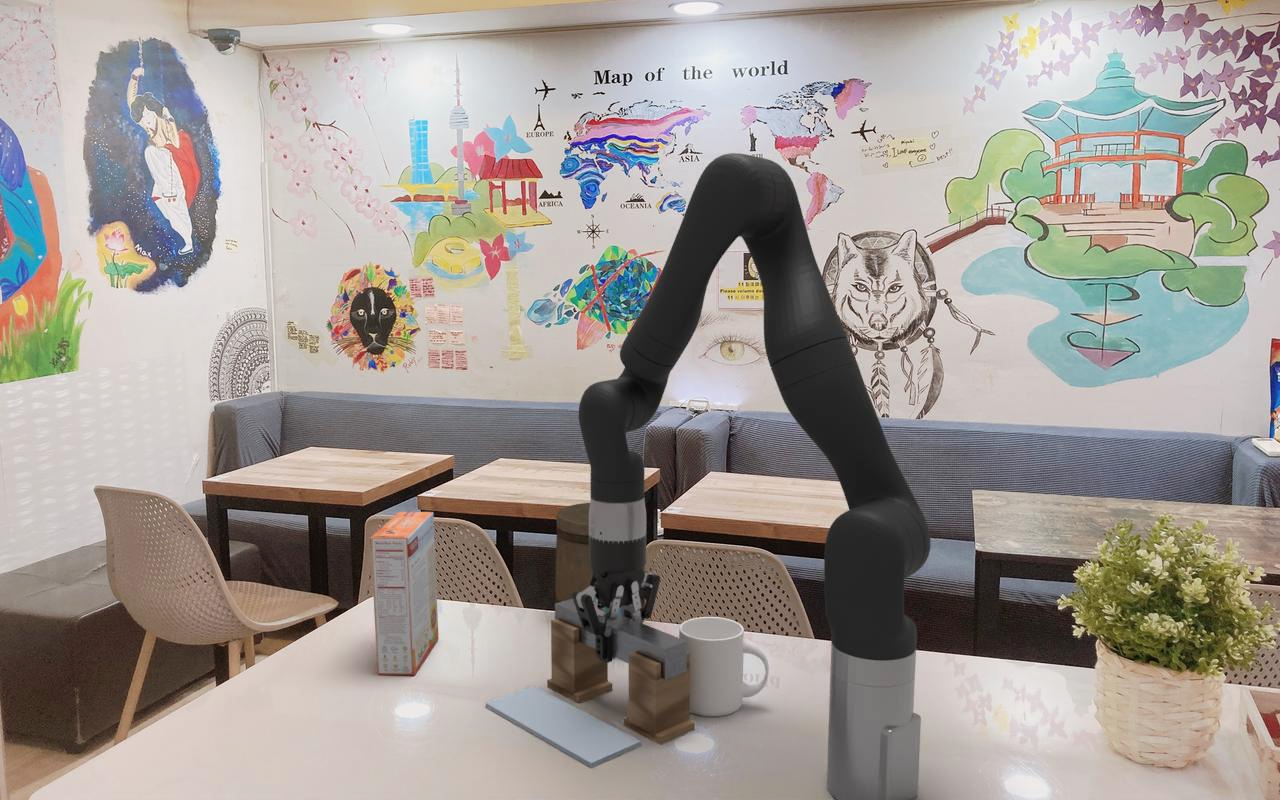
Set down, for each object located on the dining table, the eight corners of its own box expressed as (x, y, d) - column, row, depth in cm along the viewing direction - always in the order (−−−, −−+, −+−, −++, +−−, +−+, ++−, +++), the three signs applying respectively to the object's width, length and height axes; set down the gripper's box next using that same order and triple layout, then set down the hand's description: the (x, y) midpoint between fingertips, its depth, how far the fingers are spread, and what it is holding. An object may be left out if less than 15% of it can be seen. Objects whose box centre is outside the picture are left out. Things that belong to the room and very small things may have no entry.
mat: (640, 745, 125) (640, 741, 125) (591, 767, 120) (591, 763, 120) (533, 689, 141) (533, 685, 141) (485, 706, 136) (485, 702, 136)
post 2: (694, 729, 130) (695, 654, 128) (661, 744, 126) (661, 667, 124) (657, 711, 135) (657, 639, 133) (623, 725, 131) (623, 651, 129)
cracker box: (402, 639, 160) (397, 510, 157) (439, 640, 159) (436, 510, 156) (373, 676, 146) (368, 534, 143) (414, 677, 146) (410, 535, 143)
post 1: (612, 690, 141) (612, 621, 140) (578, 703, 137) (578, 632, 136) (580, 674, 146) (580, 608, 145) (547, 686, 142) (546, 618, 141)
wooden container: (654, 608, 174) (655, 482, 171) (630, 639, 160) (631, 503, 157) (573, 600, 178) (572, 477, 175) (542, 629, 164) (541, 497, 161)
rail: (686, 671, 128) (686, 641, 128) (664, 679, 126) (665, 648, 125) (576, 624, 144) (576, 597, 144) (555, 631, 142) (554, 603, 141)
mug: (765, 723, 131) (767, 644, 130) (673, 715, 134) (674, 637, 132) (769, 695, 140) (771, 620, 138) (683, 688, 142) (684, 614, 141)
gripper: (594, 547, 125) (595, 680, 127) (676, 526, 135) (675, 650, 137) (556, 535, 130) (558, 662, 133) (638, 516, 140) (637, 635, 142)
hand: (617, 655), depth 135 cm, fingers closed on rail, 3 cm apart
